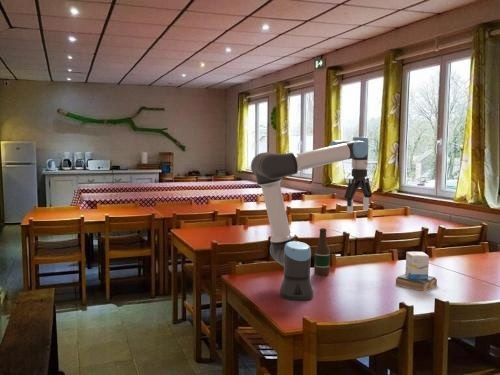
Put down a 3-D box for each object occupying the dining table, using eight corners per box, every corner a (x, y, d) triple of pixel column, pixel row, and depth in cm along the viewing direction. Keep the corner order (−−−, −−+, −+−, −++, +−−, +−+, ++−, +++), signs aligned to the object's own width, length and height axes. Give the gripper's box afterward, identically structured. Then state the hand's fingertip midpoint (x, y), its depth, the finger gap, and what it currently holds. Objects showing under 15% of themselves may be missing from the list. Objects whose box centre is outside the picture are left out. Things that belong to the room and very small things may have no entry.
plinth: (422, 291, 217) (423, 283, 217) (395, 284, 227) (395, 276, 227) (436, 285, 227) (437, 277, 226) (409, 279, 237) (410, 271, 237)
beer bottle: (328, 272, 247) (330, 227, 245) (329, 276, 240) (331, 230, 237) (313, 271, 248) (315, 227, 246) (314, 275, 240) (315, 229, 238)
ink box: (428, 279, 222) (429, 255, 221) (410, 279, 223) (411, 255, 221) (422, 274, 231) (423, 251, 230) (404, 274, 231) (406, 251, 230)
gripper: (351, 169, 217) (349, 215, 219) (380, 168, 234) (378, 210, 236) (337, 168, 222) (336, 213, 224) (367, 167, 239) (365, 208, 241)
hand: (357, 211), depth 230 cm, fingers open, 13 cm apart
